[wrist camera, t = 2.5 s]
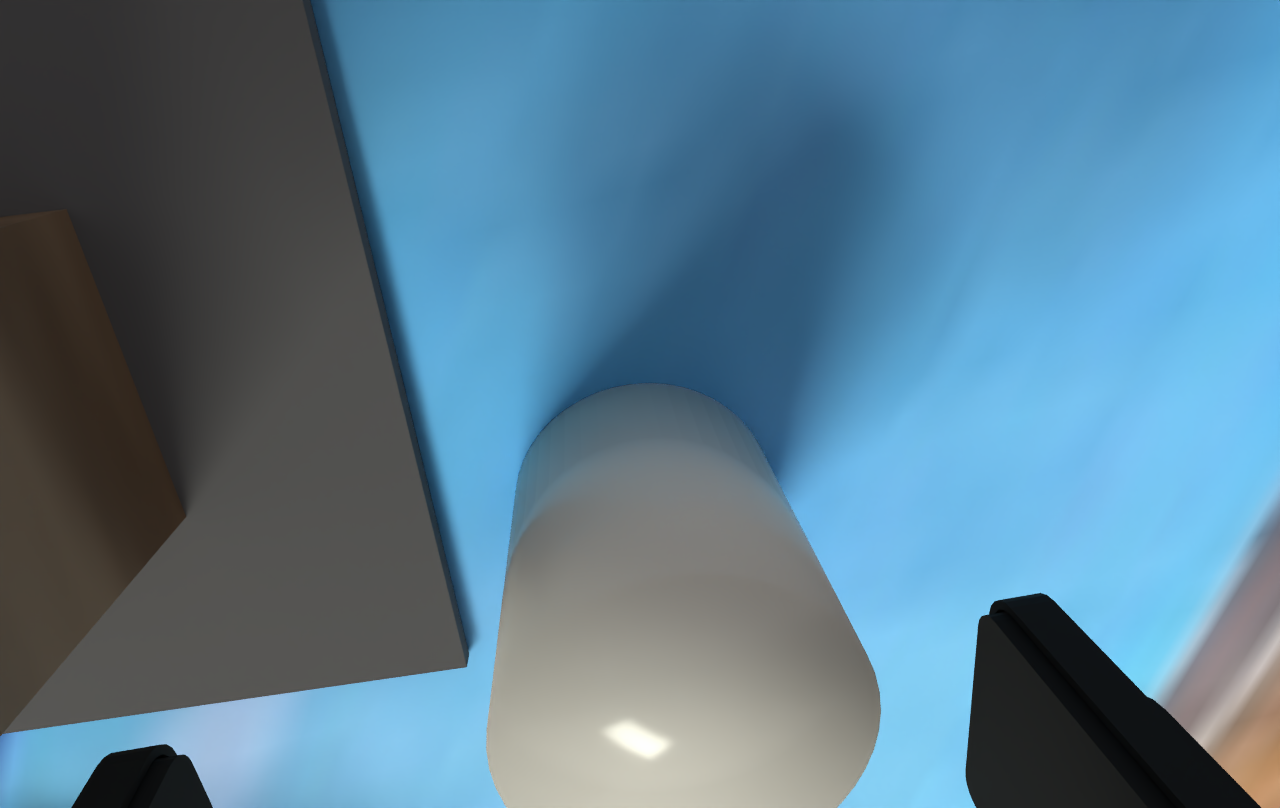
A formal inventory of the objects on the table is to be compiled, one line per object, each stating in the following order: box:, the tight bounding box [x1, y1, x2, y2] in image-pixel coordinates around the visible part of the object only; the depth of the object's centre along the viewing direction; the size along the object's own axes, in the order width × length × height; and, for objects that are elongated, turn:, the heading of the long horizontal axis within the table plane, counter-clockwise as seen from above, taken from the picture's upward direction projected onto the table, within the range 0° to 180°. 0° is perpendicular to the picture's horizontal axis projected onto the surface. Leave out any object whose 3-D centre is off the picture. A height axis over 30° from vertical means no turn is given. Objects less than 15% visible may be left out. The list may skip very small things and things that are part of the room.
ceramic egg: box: [486, 383, 881, 808], centre depth 13 cm, size 5×5×6 cm
